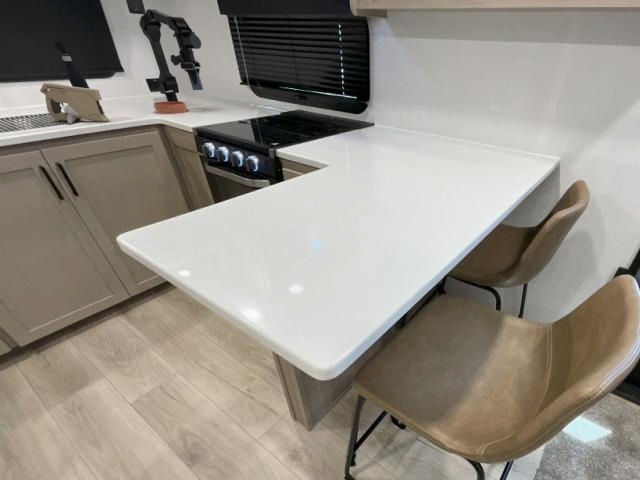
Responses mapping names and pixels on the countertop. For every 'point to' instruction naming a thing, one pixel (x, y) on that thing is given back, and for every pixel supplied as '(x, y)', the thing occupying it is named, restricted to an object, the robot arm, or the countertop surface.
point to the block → (199, 84)
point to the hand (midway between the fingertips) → (196, 84)
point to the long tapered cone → (70, 114)
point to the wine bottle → (71, 67)
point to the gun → (73, 102)
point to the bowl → (170, 107)
